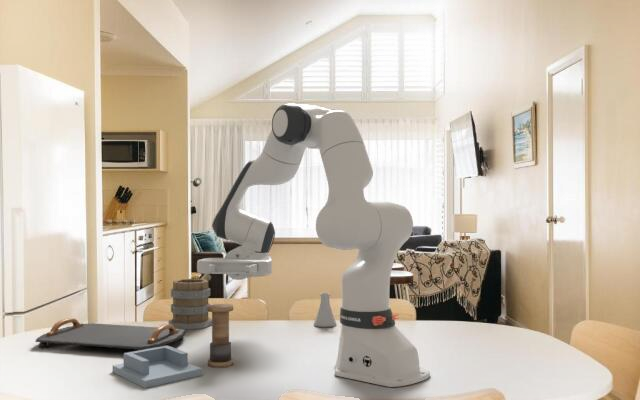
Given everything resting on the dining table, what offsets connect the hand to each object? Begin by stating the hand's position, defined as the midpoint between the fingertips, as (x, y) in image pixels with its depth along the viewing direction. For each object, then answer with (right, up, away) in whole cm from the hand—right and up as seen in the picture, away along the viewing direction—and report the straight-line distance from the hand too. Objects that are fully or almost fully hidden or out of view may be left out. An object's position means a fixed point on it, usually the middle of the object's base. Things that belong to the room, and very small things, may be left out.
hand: (230, 269), depth 159 cm
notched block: (-14, -21, -20) cm, 32 cm away
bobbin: (-1, -21, -12) cm, 25 cm away
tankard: (-16, -21, +36) cm, 45 cm away
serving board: (-33, -22, +9) cm, 41 cm away
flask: (+25, -21, +33) cm, 46 cm away
